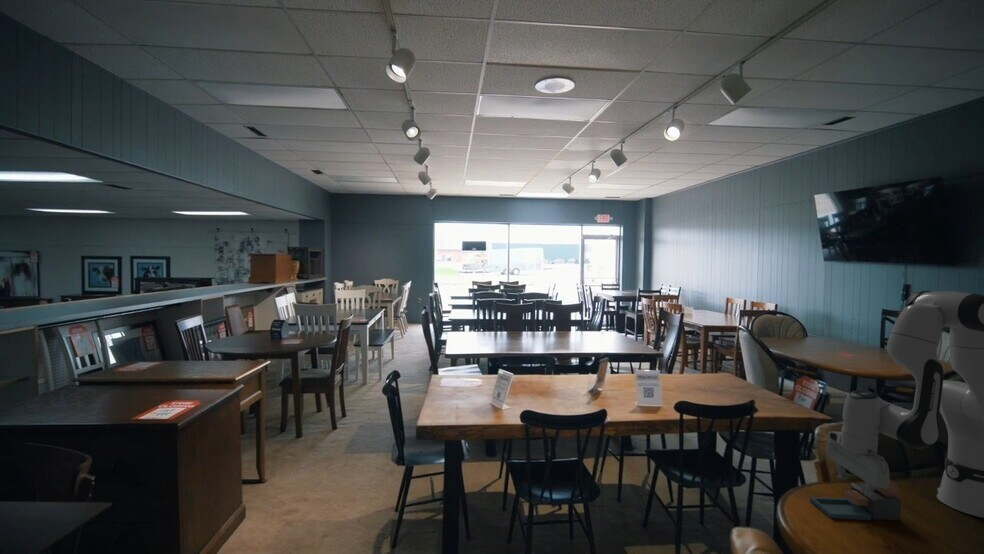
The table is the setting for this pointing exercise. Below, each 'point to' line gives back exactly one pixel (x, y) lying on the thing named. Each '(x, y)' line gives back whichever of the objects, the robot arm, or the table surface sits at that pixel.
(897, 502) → the dispenser
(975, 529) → the table surface
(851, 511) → the tray
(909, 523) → the table surface
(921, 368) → the robot arm
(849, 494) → the ticket
